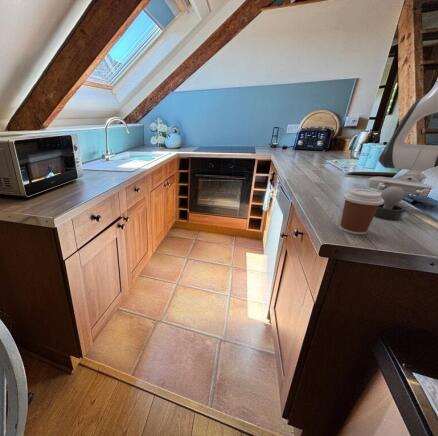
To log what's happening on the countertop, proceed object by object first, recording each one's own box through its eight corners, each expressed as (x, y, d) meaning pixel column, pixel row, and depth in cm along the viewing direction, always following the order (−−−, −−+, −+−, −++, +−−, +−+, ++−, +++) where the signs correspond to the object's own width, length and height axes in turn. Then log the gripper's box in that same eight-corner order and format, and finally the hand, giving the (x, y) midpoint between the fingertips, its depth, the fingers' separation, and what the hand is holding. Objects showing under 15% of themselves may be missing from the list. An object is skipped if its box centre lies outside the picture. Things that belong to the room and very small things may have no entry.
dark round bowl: (393, 213, 86) (397, 204, 85) (405, 221, 79) (409, 211, 78) (366, 210, 89) (369, 201, 87) (375, 218, 82) (379, 208, 81)
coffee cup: (378, 232, 72) (393, 193, 68) (361, 238, 69) (376, 198, 64) (344, 221, 80) (356, 186, 75) (327, 227, 76) (338, 190, 72)
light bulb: (387, 212, 86) (398, 184, 82) (400, 218, 81) (412, 189, 77) (370, 211, 87) (380, 184, 83) (382, 217, 82) (393, 188, 78)
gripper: (376, 171, 98) (364, 176, 91) (454, 180, 83) (447, 187, 75) (371, 186, 101) (359, 192, 93) (445, 198, 85) (438, 206, 78)
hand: (399, 190), depth 84 cm, fingers open, 8 cm apart
